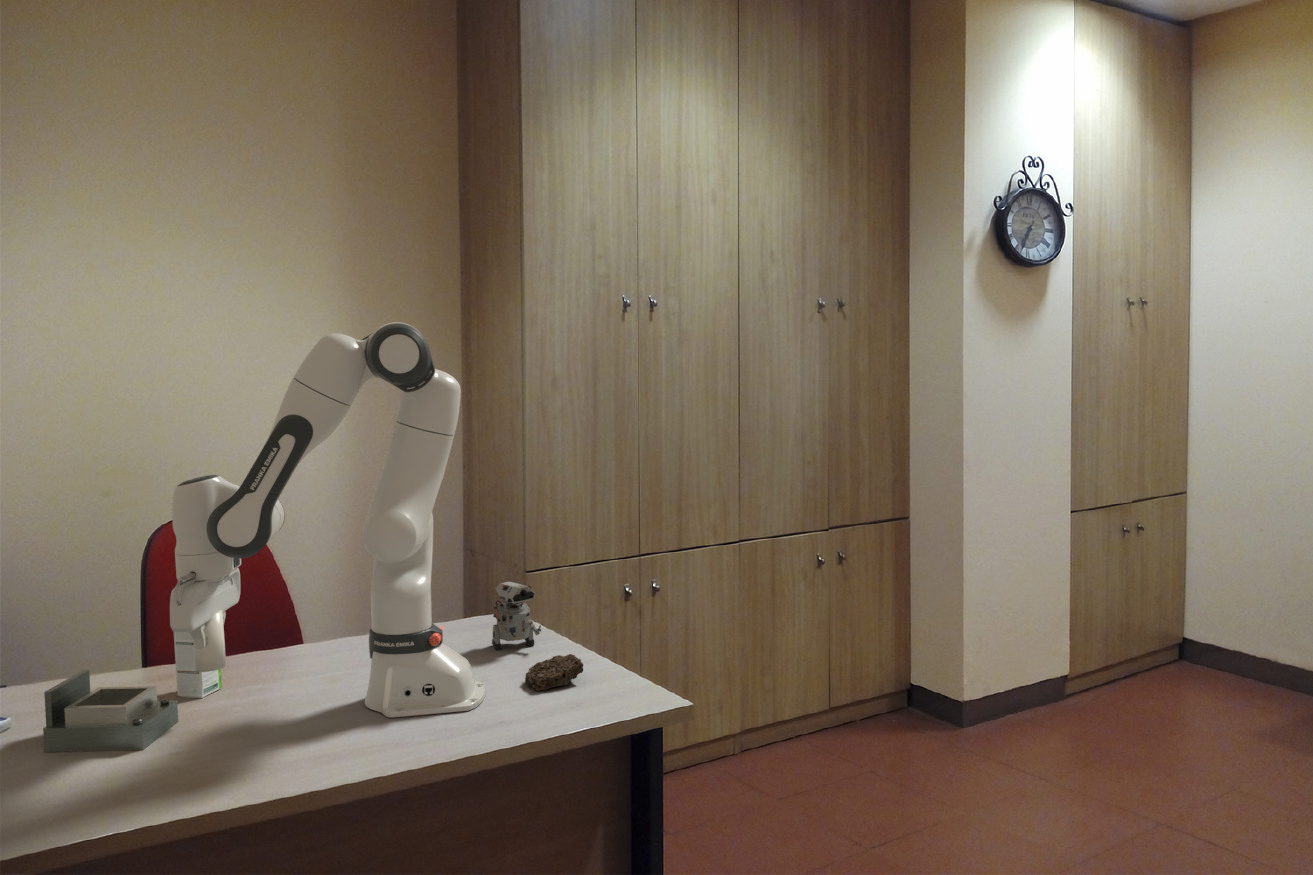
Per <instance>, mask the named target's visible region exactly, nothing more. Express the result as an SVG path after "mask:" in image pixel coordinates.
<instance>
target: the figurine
mask: <svg viewBox="0 0 1313 875" xmlns="http://www.w3.org/2000/svg"><path fill="white" fill-rule="evenodd" d="M495 591H496V593H497V596H498V597H499V600H501V601H503V603H502V602H501V601H499V600H496V602H495V603H494V604H493V613H492V614H493V618H495V619H496V624H493V625H492V639H491V644H492V647H493V648H494V649H495V650H497V651H499V650H501V649H502V643H501V640H503V641H506V642H514V641H515V642H517V641H521V640H522V641H523V640H524V641H525V643H526V644H527V645H528V646H529V647H533V646H535V639H534V635H535V636H539V635H540V632H542V626H541V625H539V626H538V628H537V627H536V625H535V624H534V621H533V619H531V608H530V607H529V606H528V603H527V602H528V601H531V600H535V598H536V592H535V591H534V590H532V587H531V586H530V585H524V584H520V583H517V582H514V581H513V582H512V581H504V582H500V583H499V584H498V585H496V587H495ZM498 602H499V603H500V604H499V603H498Z"/></svg>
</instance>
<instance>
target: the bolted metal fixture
mask: <svg viewBox="0 0 1313 875" xmlns="http://www.w3.org/2000/svg"><path fill="white" fill-rule="evenodd" d="M90 677H91V676H90V669H83V670H81V671H78V673H76V674H74V675H72V676H70V677H68V678H67V679H64V681H62V682H59V683H58V684H56V685H55V686H53V687H51V688H49V689H47V690H46V691H44V708H45V710H44V711H45V727H43V729H42V731H43V732H42V733H43V751H44V753H56V752H58V753H60V752H61V753H62V752H64V753H65V752H67V753H68V752H69V753H70V752H103V751H104V752H105V751H107V752H109V751H111V752H112V751H115V752H116V751H144V750H145V749H146V748H148V747H149V746H150V745H151V744H152V743H154V742H155V741H156V740H158V739H159V738H160V737H161V736H162V735H164V734H165V733H166V732H168V731H169V730H170V729H171V728H172V727H174V726H175V725H177V724H178V723H179V708H178V700H177V699H172V700H171V699H169V698H163V699H160V700H158V690H157V689H158V688H157V685H155V686H153V685H148V686H144V685H143V686H100V687H99V686H98V687H97V688H95V689H93V690H92V691H91V682H90V679H91V678H90Z"/></svg>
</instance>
